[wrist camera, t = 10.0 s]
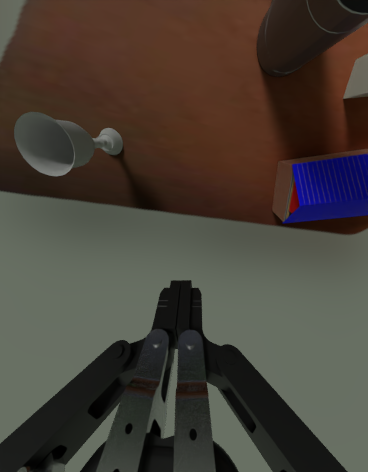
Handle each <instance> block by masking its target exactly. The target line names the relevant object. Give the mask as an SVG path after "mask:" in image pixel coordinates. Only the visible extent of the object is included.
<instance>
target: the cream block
mask: <svg viewBox="0 0 368 472" xmlns="http://www.w3.org/2000/svg"><path fill="white" fill-rule="evenodd" d="M367 96H368V54H366V55H364V56H362V57H360V58H358V59H356V61H355V64H354V67H353V70H352V73H351V76H350V79H349V82H348V85H347V88H346V91H345V94H344V97H343V99H347V98H357V97H367Z"/></svg>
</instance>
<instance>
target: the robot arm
mask: <svg viewBox="0 0 368 472" xmlns="http://www.w3.org/2000/svg"><path fill="white" fill-rule="evenodd" d="M366 23H368V0H272V3H271V6H270V8H269V10H268V12H267V13H266V15H265V17H264V19H263V21H262V24H261V26H260V30H259V34H258V39H257V55H258V60H259V62H260V65H261V67H262V68H263V69H264V71H265V72H267V73H268V74H269V75H272V76H275V77H281V76H286V75H288V74H290V73H292V72H294V71H296V70H297V69H299V68H301V66H303V65H304V64H306V63H308V62H309V61H311V60H312V59H314V58H315V57H317V56H318V55H320V54H321V53H323V52H324V51H326V50H327V49H329V48H330V47H332V46H333V45H335V44H336V43H338V42H339V41H341V40H342V39H344V38H345V37H347V36H348V35H350V34H351V33H353V32H354V31H356V30H357V29H359V28H360V27H362V26H363V25H365V24H366ZM175 349H178V370H177V374H178V375H177V389H176V398H175V399H176V400H175V432H174V436H171V437H168V438H164V439H163V436H164V430H165V423H166V415H167V400H168V394H169V388H170V382H171V376H172V370H173V364H174V351H175ZM206 382H208V383H210V384H212V385H214V386H216V387H217V388H218V390H219V391H220V393H221V394H222V395H223V397H224V399H225V400H226V402H227V403H228V405H229V406H230V408H231V409H232V411H233V412H234V414H235V415H236V417H237V418H238V420H239V421H240V423H241V424H242V426H243V427H244V429H245V430H246V432H247V434H248V435H249V437H250V438H251V439H252V441H253V442H254V444H255V445H256V447H257V448H258V450H259V452H260V453H261V455H262V456H263V458H264V459H265V461H266V462H267V464H268V465H269V467H270V468H271V470H272V471H273V472H347V471H346V470H345V468H344V467H343V466H342V465H341V464H340V463H339V462H338V461H337V460H336V458H335V457H334V456H333V455H332V454H331V453H330V452H329V451H328V449H326V447H325V446H324V445H323V444H322V443H321V442H320V441H319V439H318V438H317V437H316V436H315V435H314V434H313V433H312V432H311V430H309V428H308V427H307V426H306V425H305V424H304V423H303V422H302V420H301V419H300V418H299V417H298V416H297V415H296V414H295V412H294V411H293V410H292V409H291V408H290V407H289V406H288V405H287V404H286V402H285V401H284V400H283V399H282V398H281V397H280V396H279V395H278V393H277V392H276V391H275V390H274V389H273V388H272V387H271V386H270V384H269V383H268V382H267V381H266V380H265V379H264V378H263V377H262V376H261V374H260V373H259V372H258V371H257V370H256V369H255V368H254V367H253V365H252V364H251V363H250V362H249V361H248V360H247V359H246V358H245V356H244V355H242V353H241V352H240V351H239V350H238V349H237V348H236V347H234V346H232V345H228V344H227V345H223V346H219V345H217V344H214V343H212V342H210V341H209V340H208V339H207V338H206V337H205V336H204V334H203V330H202V301H201V292H200V290H199V288H192V283H191V280H189V281H188V280H187V281H184V280H183V281H171V285H170V288H164V289H163V290H162V292H161V293H160V297H159V301H158V305H157V309H156V314H155V318H154V322H153V326H152V330H151V332H150V333H149V334H148V335H147V337H146V338H144V339H142V340H140V341H137V342H134V343H131V344H129V343H128V342H127V341H125V340H120V341H117V342H115V343H113V344H112V345H111V346H110V347H109V348H107V349H106V350H105V351H104V352H103V353H102V354H101V355H100V356H98V357H97V358H96V359H95V360H94V361H93V362H92V363H91V364H89V365H88V366H87V367H86V368H85V369H84V370H83V371H82V372H81V373H79V374H78V375H77V376H76V377H75V378H74V379H73V380H71V381H70V382H69V383H68V384H67V385H66V386H65V387H64V388H62V389H61V390H60V391H59V392H58V393H57V394H56V395H55V396H53V397H52V398H51V399H50V400H49V401H48V402H47V403H46V404H44V405H43V406H42V407H41V408H40V409H39V410H38V411H36V412H35V413H34V414H33V415H32V416H31V417H30V418H29V419H28V420H26V421H25V422H24V423H23V424H22V425H21V426H20V427H19V428H18V429H16V430H15V431H14V432H13V433H12V434H11V435H10V436H8V437H7V438H6V439H5V440H4V441H3V442H2V443H1V444H0V472H64V471H65V465H66V464H67V463H68V461H69V460H70V459H71V458H72V457H73V456H74V455H75V453H76V452H77V451H78V450H79V449H80V448H81V446H82V445H83V444H84V443H85V442H86V440H87V439H88V438H89V437H90V436H91V435H92V434H93V433H94V431H95V430H96V429H97V428H98V427H99V426H100V425H101V423H102V422H103V421H104V420H105V419H106V418H107V416H108V415H109V414H110V413H111V412H112V411H113V409H114V408H115V407H116V406H117V405H118V404H119V403H120V404H119V407H118V410H117V412H116V415H115V418H114V421H113V424H112V427H111V430H110V433H109V436H108V439H107V441H105V442H104V443H103V444H102V445H101V446H100V447H99V448H98V449H97V450H96V452H95V453H94V454H93V456H92V457H91V458H90V459H89V461H88V462H87V463H86V464H85V466H84V467H83V468H82V470H81V471H80V472H238V470H237V468H236V466H235V464H234V463H233V461H232V460H231V458H230V457H229V455H228V454H227V453H226V452H225V451H224V449H222V448H221V447H220V446H219V445H218V444H217V443H215V442H214V441H213V438H212V429H211V418H210V408H209V399H208V389H207V383H206Z"/></svg>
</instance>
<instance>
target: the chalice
mask: <svg viewBox="0 0 368 472" xmlns="http://www.w3.org/2000/svg"><path fill="white" fill-rule="evenodd" d="M14 135H15V141H16V144H17V147H18V149H19V151H20V153H21V154H22V156H23V157H24V159H25V160H26V161H27V162H28V163H29V164H30V165H31V166H32V167H34V168H35V169H36V170H38V171H39V172H41V173H44V174H46V175H50V176H60V175H64V174H66V173H67V172H69V171H70V170H71V168H75V167H78V166H82V165H84V164H86V163H87V162H88V161H89V160H90V159H91V157H92V156H93V154H94V150H95V148H98V147H99V148H102V149H103V150H104V151H105V152H106V153H108V154H110V155H117V154H119V153H120V152H121V150H122V147H123V141H122V138H121V136H120V135H119V133H118V132H117V131H116V130H114V129H112V128H106V129H104V130H102V131H101V133H100V135H99V137H98V138H96V139H95V138H92V137H91V136H90V135H89V134H88V133H87V132H86V131H85V130H84V129H82V128H81V127H80V126H78V125H77V124H75V123H72V122H70V121H62V120H54V119H53V118H51V117H49V116H47V115H45V114H42V113H37V112H29V113H26V114H23V115H22V116H21V117H20V118H19V119H18V120H17V122H16V125H15V128H14Z"/></svg>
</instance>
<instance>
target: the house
mask: <svg viewBox="0 0 368 472" xmlns="http://www.w3.org/2000/svg"><path fill="white" fill-rule="evenodd" d="M294 178H295V179H294ZM293 182H294V184H293ZM292 187H293V189H292ZM291 193H292V195H291ZM290 198H291V200H290ZM289 204H290V206H289ZM299 204H300V206H299ZM272 211H273V212H274V213H275V214H276V215H277V216H278V217H279V218H280V219H281V220H282V221H283V223H293V222H303V221H313V220H324V219H334V218H344V217H355V216H365V215H368V148H367V149H360V150H353V151H346V152H339V153H332V154H325V155H319V156H312V157H305V158H298V159H291V160H284V161H278V169H277V177H276V184H275V192H274V199H273V207H272Z"/></svg>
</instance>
